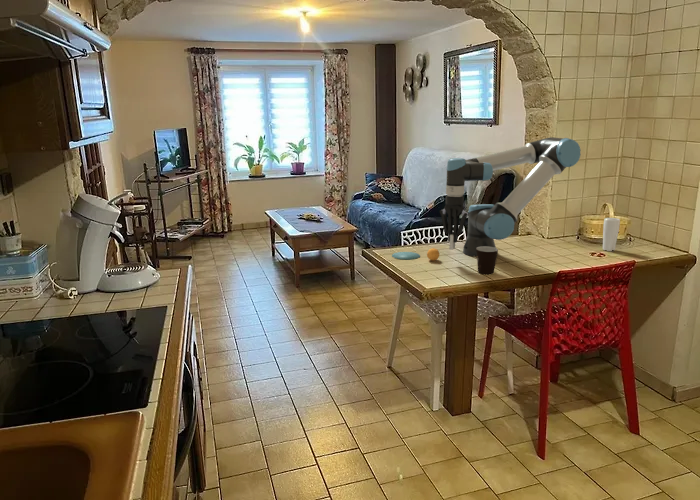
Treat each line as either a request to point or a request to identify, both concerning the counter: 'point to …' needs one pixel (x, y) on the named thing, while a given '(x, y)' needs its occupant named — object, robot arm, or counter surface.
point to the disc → (406, 255)
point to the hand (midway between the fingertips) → (452, 248)
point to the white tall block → (610, 233)
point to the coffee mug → (486, 259)
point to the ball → (433, 254)
